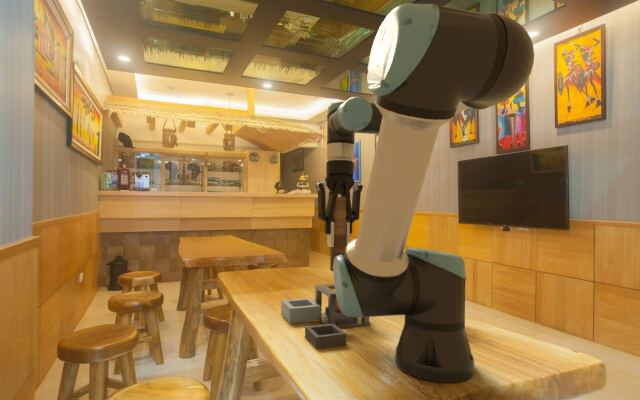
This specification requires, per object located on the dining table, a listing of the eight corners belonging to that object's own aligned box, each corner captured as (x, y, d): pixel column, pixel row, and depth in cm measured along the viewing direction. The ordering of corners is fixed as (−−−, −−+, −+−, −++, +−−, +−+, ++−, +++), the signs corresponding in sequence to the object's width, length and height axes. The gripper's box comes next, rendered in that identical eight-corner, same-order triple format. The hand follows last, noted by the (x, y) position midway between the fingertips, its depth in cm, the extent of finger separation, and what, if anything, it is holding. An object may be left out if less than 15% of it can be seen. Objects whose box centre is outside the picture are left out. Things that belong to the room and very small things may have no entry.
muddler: (347, 271, 96) (349, 197, 96) (333, 272, 94) (335, 196, 94) (340, 268, 99) (342, 197, 100) (327, 269, 98) (329, 196, 98)
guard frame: (370, 324, 96) (370, 291, 96) (329, 329, 92) (330, 294, 92) (350, 312, 107) (351, 282, 107) (313, 316, 103) (314, 284, 103)
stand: (346, 344, 82) (346, 333, 82) (315, 348, 79) (316, 337, 79) (333, 333, 89) (333, 323, 89) (305, 337, 86) (305, 326, 86)
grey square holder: (320, 320, 99) (321, 306, 99) (289, 323, 96) (290, 308, 96) (310, 311, 107) (310, 298, 107) (281, 314, 104) (281, 300, 104)
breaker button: (351, 311, 98) (351, 295, 98) (337, 312, 97) (337, 296, 97) (344, 307, 102) (345, 292, 102) (330, 308, 101) (331, 293, 101)
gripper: (360, 163, 104) (358, 243, 104) (306, 159, 97) (304, 245, 97) (374, 161, 97) (372, 247, 97) (316, 157, 90) (314, 248, 90)
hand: (338, 245), depth 97 cm, fingers closed on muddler, 4 cm apart
